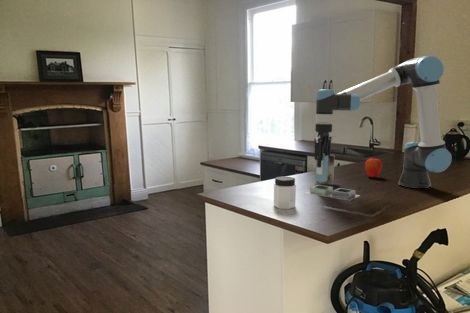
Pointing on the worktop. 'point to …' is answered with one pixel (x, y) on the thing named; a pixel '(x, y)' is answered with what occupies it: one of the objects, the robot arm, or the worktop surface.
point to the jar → (284, 192)
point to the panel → (333, 192)
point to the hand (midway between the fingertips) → (321, 173)
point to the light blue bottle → (325, 170)
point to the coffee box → (329, 171)
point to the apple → (373, 167)
